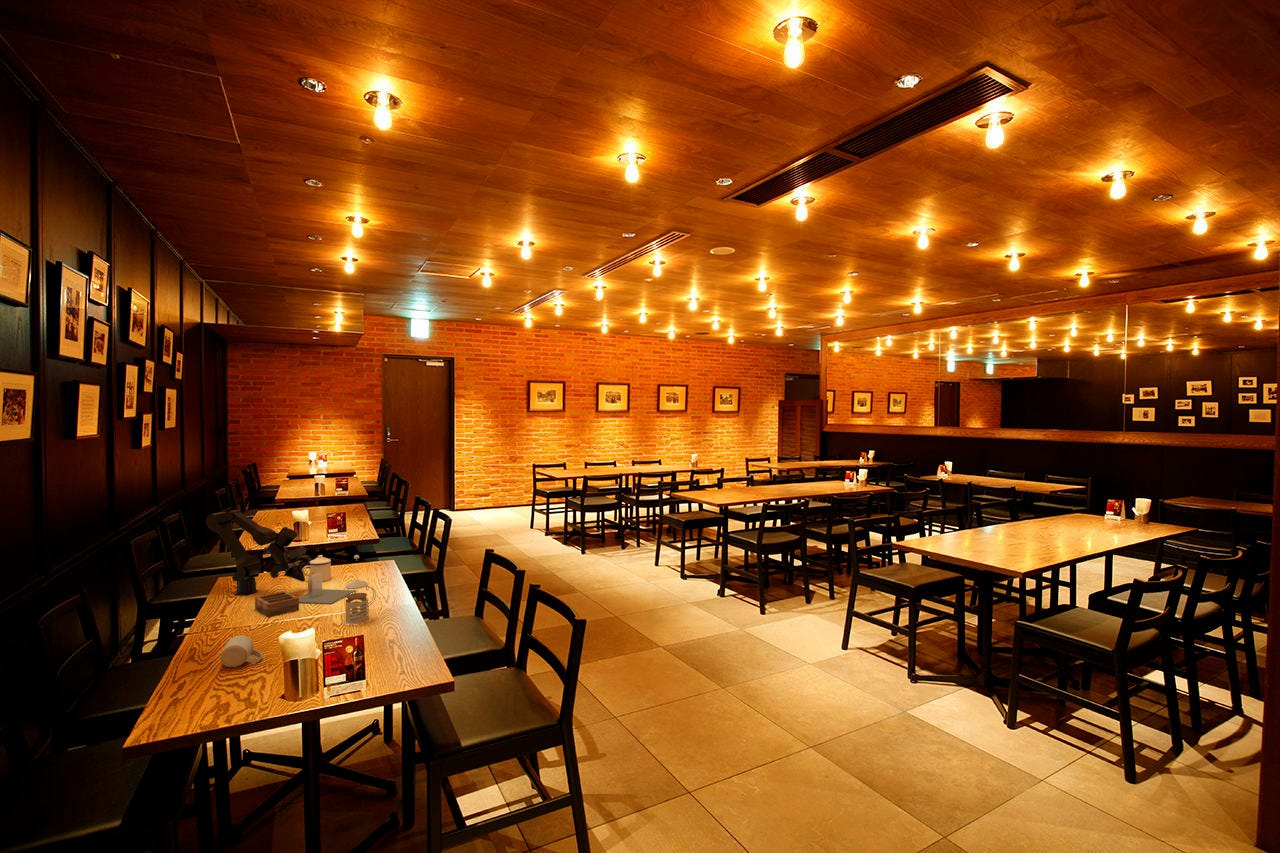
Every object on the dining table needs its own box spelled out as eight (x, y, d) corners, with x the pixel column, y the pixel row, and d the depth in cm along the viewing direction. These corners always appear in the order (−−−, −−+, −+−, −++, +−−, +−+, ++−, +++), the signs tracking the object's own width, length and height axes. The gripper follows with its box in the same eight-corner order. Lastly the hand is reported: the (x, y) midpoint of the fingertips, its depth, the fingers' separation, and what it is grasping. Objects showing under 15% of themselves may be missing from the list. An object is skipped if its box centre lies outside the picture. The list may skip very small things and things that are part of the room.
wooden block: (308, 597, 254) (307, 576, 253) (317, 593, 260) (317, 572, 259) (312, 598, 253) (312, 576, 253) (322, 593, 259) (322, 573, 259)
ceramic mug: (219, 670, 183) (219, 645, 183) (225, 660, 190) (225, 636, 190) (259, 665, 187) (260, 641, 187) (264, 656, 195) (264, 632, 194)
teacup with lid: (332, 576, 289) (332, 552, 288) (330, 581, 280) (330, 556, 280) (303, 579, 284) (303, 554, 284) (301, 584, 276) (300, 559, 276)
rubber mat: (289, 603, 248) (289, 601, 248) (317, 590, 266) (317, 589, 266) (331, 604, 247) (331, 603, 247) (356, 591, 265) (355, 590, 265)
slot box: (255, 609, 240) (255, 597, 240) (285, 603, 248) (285, 591, 248) (267, 617, 231) (267, 604, 231) (298, 610, 239) (298, 597, 239)
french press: (338, 621, 227) (337, 555, 226) (369, 613, 235) (369, 550, 235) (348, 627, 220) (348, 559, 220) (380, 619, 229) (380, 554, 228)
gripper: (275, 545, 248) (300, 573, 247) (307, 536, 267) (330, 562, 265) (259, 564, 250) (283, 591, 248) (292, 554, 268) (314, 579, 267)
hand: (304, 580), depth 257 cm, fingers closed
